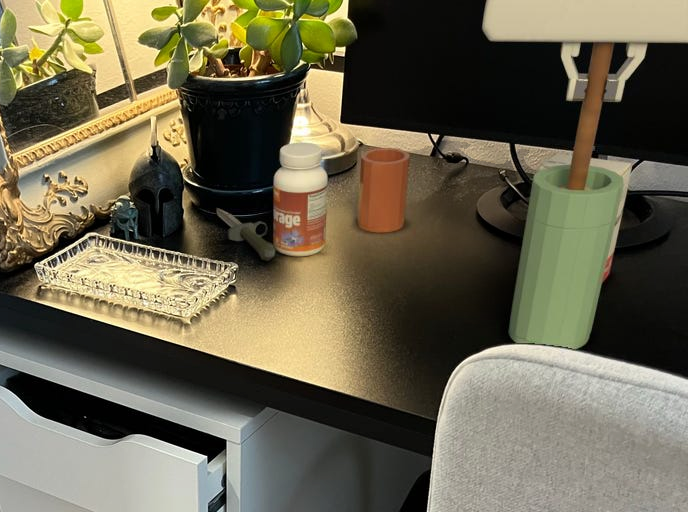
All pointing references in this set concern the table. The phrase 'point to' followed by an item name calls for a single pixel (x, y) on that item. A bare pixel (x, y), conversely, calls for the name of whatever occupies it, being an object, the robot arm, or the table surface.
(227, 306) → the table surface
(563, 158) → the ink box
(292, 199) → the pill bottle
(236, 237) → the knife
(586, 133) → the brush
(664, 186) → the table surface
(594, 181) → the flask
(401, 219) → the brush cup
